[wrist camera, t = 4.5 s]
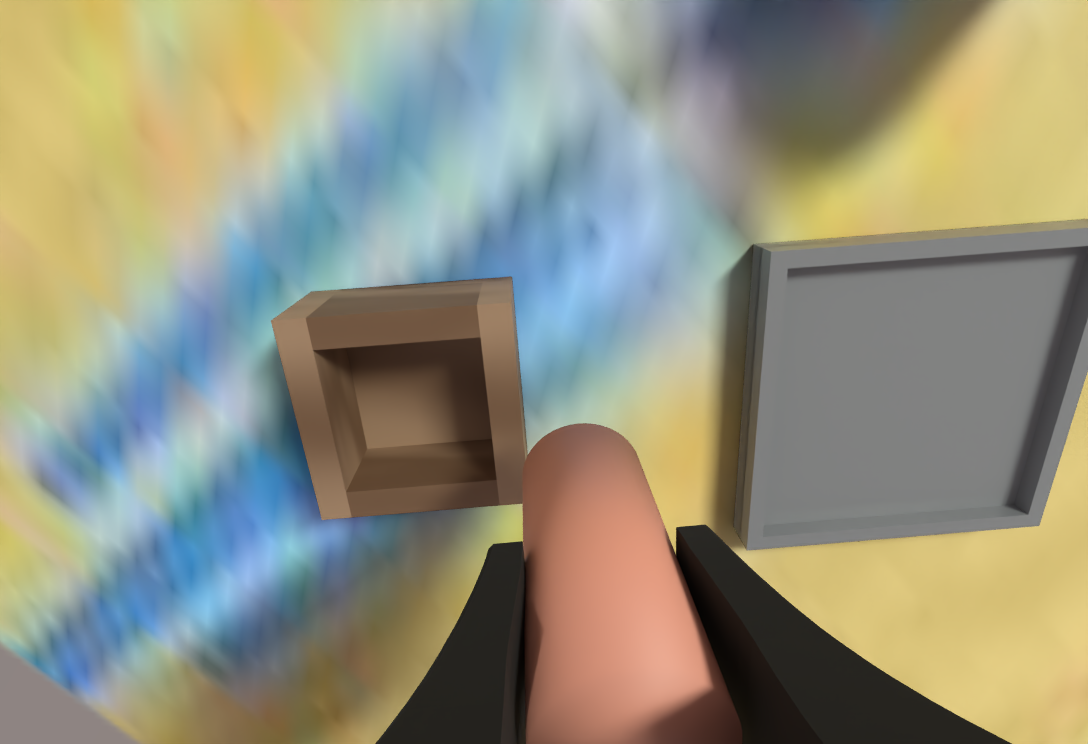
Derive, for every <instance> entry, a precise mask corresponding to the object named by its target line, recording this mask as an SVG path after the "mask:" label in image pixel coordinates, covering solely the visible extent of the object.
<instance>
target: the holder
mask: <svg viewBox="0 0 1088 744" xmlns="http://www.w3.org/2000/svg"><path fill="white" fill-rule="evenodd" d="M271 323H272V327H273V331H274V334H275V338H276V342H277V346H278V350H279V354H280V358H281V362H282V366H283V370H284V373H285V377H286V381H287V385H288V389H289V393H290V397H291V401H292V405H293V409H294V413H295V416H296V420H297V424H298V428H299V432H300V436H301V440H302V444H303V448H304V452H305V456H306V459H307V463H308V467H309V471H310V475H311V479H312V483H313V487H314V491H315V495H316V498H317V502H318V506H319V510H320V514H321V518H322V520H327V519H339V518H351V517H363V516H375V515H388V514H400V513H412V512H424V511H437V510H449V509H461V508H473V507H485V506H498V505H510V504H522V503H523V490H522V474H523V467H524V464H525V461H526V458H527V456H528V454H527V441H526V430H525V419H524V407H523V396H522V385H521V373H520V362H519V351H518V339H517V328H516V317H515V306H514V294H513V283H512V277H500V278H487V279H474V280H461V281H447V282H434V283H421V284H408V285H394V286H381V287H368V288H355V289H341V290H328V291H315V292H310V293H309V294H308V295H306V296H305V297H303V298H302V299H301V300H299V301H298V302H296V303H295V304H294V305H292V306H291V307H289V308H288V309H287V310H285V311H284V312H282V313H281V314H280V315H278V316H277V317H275V318H274V319H273V320H271Z"/></svg>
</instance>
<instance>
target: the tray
mask: <svg viewBox="0 0 1088 744" xmlns="http://www.w3.org/2000/svg"><path fill="white" fill-rule="evenodd" d="M1087 372H1088V219H1081V220H1068V221H1055V222H1042V223H1028V224H1015V225H1002V226H988V227H975V228H962V229H948V230H935V231H922V232H908V233H895V234H882V235H868V236H855V237H842V238H829V239H815V240H802V241H789V242H775V243H762V244H754V245H753V259H752V273H751V288H750V302H749V316H748V330H747V344H746V359H745V373H744V387H743V401H742V416H741V430H740V444H739V458H738V472H737V487H736V501H735V515H734V529H735V530H736V532H737V534H738V536H739V538H740V539H741V541H742V543H743V545H744V546H745V548H746V550H757V549H769V548H781V547H793V546H805V545H817V544H829V543H841V542H853V541H864V540H876V539H888V538H900V537H912V536H924V535H936V534H948V533H960V532H972V531H984V530H996V529H1008V528H1020V527H1032V526H1039V525H1040V522H1041V518H1042V515H1043V512H1044V509H1045V506H1046V502H1047V499H1048V496H1049V493H1050V490H1051V486H1052V483H1053V480H1054V477H1055V474H1056V470H1057V467H1058V464H1059V461H1060V458H1061V455H1062V451H1063V448H1064V445H1065V442H1066V439H1067V435H1068V432H1069V429H1070V426H1071V423H1072V419H1073V416H1074V413H1075V410H1076V407H1077V403H1078V400H1079V397H1080V394H1081V391H1082V387H1083V384H1084V381H1085V378H1086V375H1087Z"/></svg>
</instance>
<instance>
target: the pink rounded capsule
mask: <svg viewBox="0 0 1088 744" xmlns="http://www.w3.org/2000/svg"><path fill="white" fill-rule="evenodd" d="M522 490H523V550H524V559H525V597H526V599H525V627H524V641H525V717H526V744H742V728H741V723H740V720H739V717H738V715H737V712H736V709H735V707H734V704H733V702H732V699H731V696H730V694H729V691H728V689H727V686H726V684H725V681H724V678H723V676H722V673H721V671H720V668H719V665H718V663H717V660H716V658H715V655H714V653H713V650H712V647H711V645H710V642H709V640H708V637H707V634H706V632H705V629H704V627H703V624H702V621H701V619H700V616H699V614H698V611H697V609H696V606H695V603H694V601H693V598H692V596H691V593H690V590H689V588H688V585H687V583H686V580H685V577H684V575H683V572H682V570H681V567H680V565H679V562H678V559H677V557H676V554H675V552H674V549H673V546H672V544H671V541H670V539H669V536H668V533H667V531H666V528H665V526H664V523H663V521H662V518H661V515H660V513H659V510H658V508H657V505H656V502H655V500H654V497H653V495H652V492H651V489H650V487H649V484H648V482H647V479H646V477H645V474H644V471H643V469H642V466H641V464H640V461H639V458H638V456H637V454H636V451H635V450H634V448H633V447H632V445H631V444H630V443H629V442H628V440H626V439H625V438H624V437H623V436H622V435H620V434H619V433H617V432H616V431H614V430H612V429H610V428H607V427H604V426H601V425H596V424H587V423H585V424H573V425H568V426H564V427H561V428H559V429H556V430H554V431H552V432H551V433H549V434H547V435H546V436H544V437H543V438H542V439H541V440H540V441H539V442H537V443H536V445H535V446H534V447H533V448H532V449H531V451H530V453H529V454H528V456H527V458H526V461H525V464H524V467H523V474H522Z"/></svg>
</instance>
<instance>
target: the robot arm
mask: <svg viewBox="0 0 1088 744" xmlns="http://www.w3.org/2000/svg"><path fill="white" fill-rule="evenodd" d="M676 557H677V559H678V562H679V565H680V567H681V570H682V572H683V575H684V577H685V580H686V583H687V585H688V588H689V590H690V593H691V596H692V598H693V601H694V603H695V606H696V609H697V611H698V614H699V616H700V619H701V621H702V624H703V627H704V629H705V632H706V634H707V637H708V640H709V642H710V645H711V647H712V650H713V653H714V655H715V658H716V660H717V663H718V665H719V668H720V671H721V673H722V676H723V678H724V681H725V684H726V686H727V689H728V691H729V694H730V696H731V699H732V702H733V704H734V707H735V709H736V712H737V715H738V717H739V720H740V723H741V728H742V744H1011V743H1009V742H1007V741H1005V740H1003V739H1002V738H1000V737H998V736H996V735H994V734H992V733H990V732H988V731H986V730H984V729H982V728H980V727H979V726H977V725H975V724H973V723H971V722H969V721H967V720H965V719H963V718H961V717H960V716H958V715H956V714H954V713H952V712H951V711H949V710H947V709H945V708H943V707H942V706H940V705H938V704H936V703H934V702H933V701H931V700H929V699H928V698H926V697H924V696H923V695H921V694H919V693H918V692H916V691H914V690H913V689H911V688H909V687H908V686H906V685H904V684H903V683H901V682H899V681H898V680H896V679H894V678H893V677H891V676H890V675H888V674H886V673H885V672H883V671H882V670H880V669H879V668H877V667H876V666H874V665H873V664H871V663H869V662H868V661H867V660H865V659H864V658H862V657H861V656H859V655H858V654H856V653H855V652H854V651H852V650H851V649H849V648H848V647H846V646H845V645H844V644H842V643H841V642H839V641H838V640H836V639H835V638H834V637H832V636H831V635H830V634H828V633H827V632H826V631H824V630H823V629H822V628H820V627H819V626H818V625H816V624H815V623H814V622H813V621H811V620H810V619H809V618H808V617H806V616H805V615H804V614H803V613H801V612H800V611H799V610H798V609H797V608H795V607H794V606H793V605H792V604H791V603H789V602H788V601H787V600H786V599H785V598H784V597H782V596H781V595H780V594H779V593H778V592H777V591H776V590H775V589H773V588H772V587H771V586H770V585H769V584H768V583H767V582H766V581H764V580H763V579H762V578H761V577H760V576H759V575H758V574H757V573H756V572H754V571H753V570H752V569H751V568H750V567H749V566H748V565H747V564H746V563H745V562H744V561H743V560H742V559H741V558H740V557H739V556H738V555H737V554H736V553H734V552H733V551H732V550H731V549H730V548H729V547H728V546H727V545H726V544H725V543H724V542H723V541H722V540H721V539H720V538H719V537H718V536H717V535H716V534H715V533H714V532H713V531H712V530H711V529H710V528H709V527H708V526H706V525H696V526H685V527H676ZM525 599H526V597H525V559H524V550H523V541H521V542H510V543H499V544H493V545H492V546H491V547H490V548H489V550H488V553H487V556H486V559H485V562H484V565H483V567H482V570H481V572H480V575H479V577H478V580H477V582H476V584H475V586H474V589H473V591H472V593H471V595H470V597H469V599H468V601H467V603H466V605H465V607H464V609H463V611H462V613H461V615H460V617H459V619H458V621H457V623H456V625H455V627H454V629H453V630H452V632H451V634H450V636H449V637H448V639H447V641H446V643H445V644H444V646H443V648H442V650H441V651H440V653H439V655H438V656H437V658H436V660H435V661H434V663H433V665H432V666H431V668H430V669H429V671H428V672H427V674H426V676H425V677H424V679H423V680H422V682H421V683H420V685H419V686H418V687H417V689H416V690H415V692H414V693H413V695H412V696H411V698H410V699H409V700H408V702H407V703H406V705H405V706H404V707H403V709H402V710H401V711H400V713H399V714H398V715H397V717H396V718H395V719H394V720H393V722H392V723H391V724H390V726H389V727H388V728H387V730H386V731H385V732H384V734H383V735H382V736H381V737H380V739H379V740H378V741H377V742H376V744H526V717H525V641H524V627H525Z"/></svg>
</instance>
